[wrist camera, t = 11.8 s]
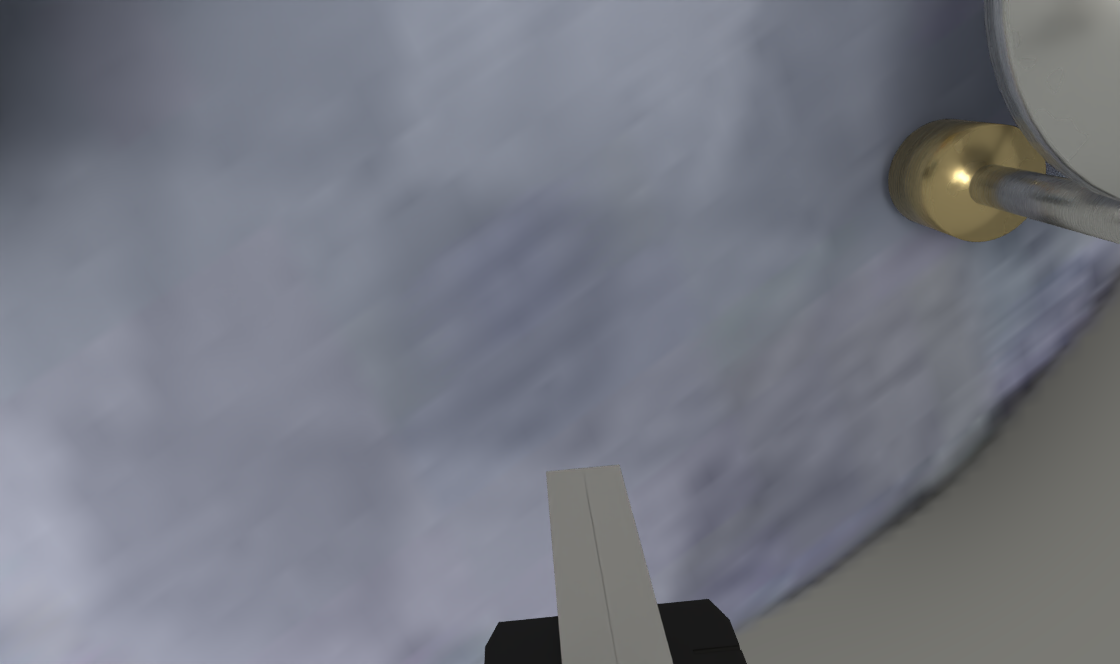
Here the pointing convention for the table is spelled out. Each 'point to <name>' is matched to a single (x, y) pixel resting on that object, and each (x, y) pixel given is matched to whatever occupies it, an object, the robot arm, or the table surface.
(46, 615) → the table surface
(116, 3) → the table surface
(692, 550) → the table surface
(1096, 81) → the tribrach stand
